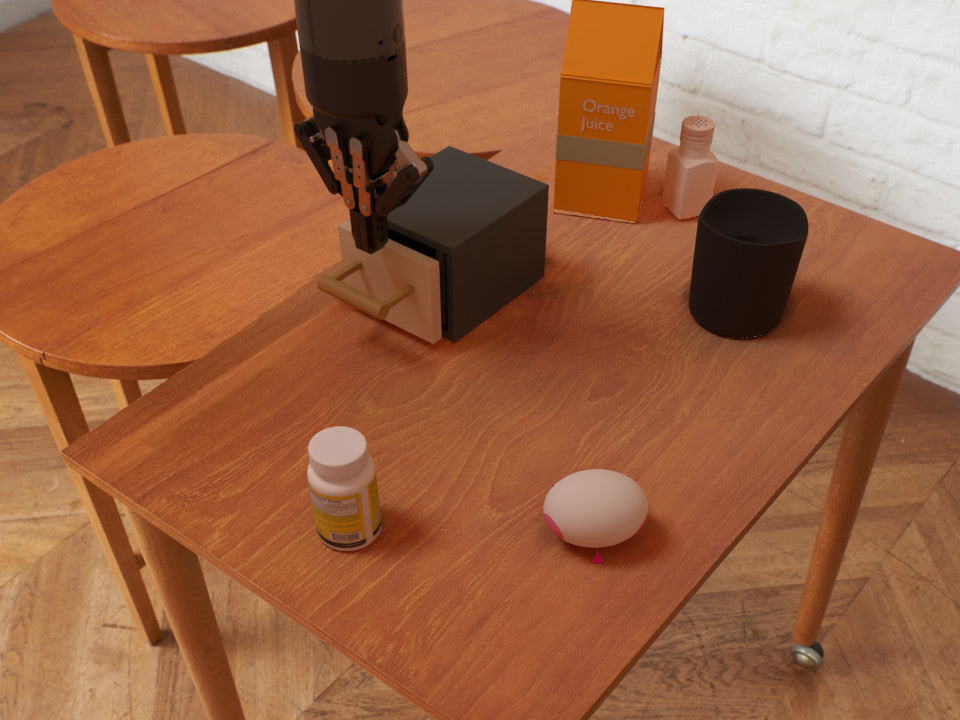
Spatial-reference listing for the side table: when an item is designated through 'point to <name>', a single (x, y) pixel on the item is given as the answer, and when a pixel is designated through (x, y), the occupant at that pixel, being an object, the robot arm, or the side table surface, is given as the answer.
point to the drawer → (393, 283)
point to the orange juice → (607, 107)
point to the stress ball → (595, 508)
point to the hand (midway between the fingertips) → (371, 247)
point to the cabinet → (478, 233)
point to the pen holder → (745, 261)
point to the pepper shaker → (691, 169)
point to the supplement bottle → (343, 489)
